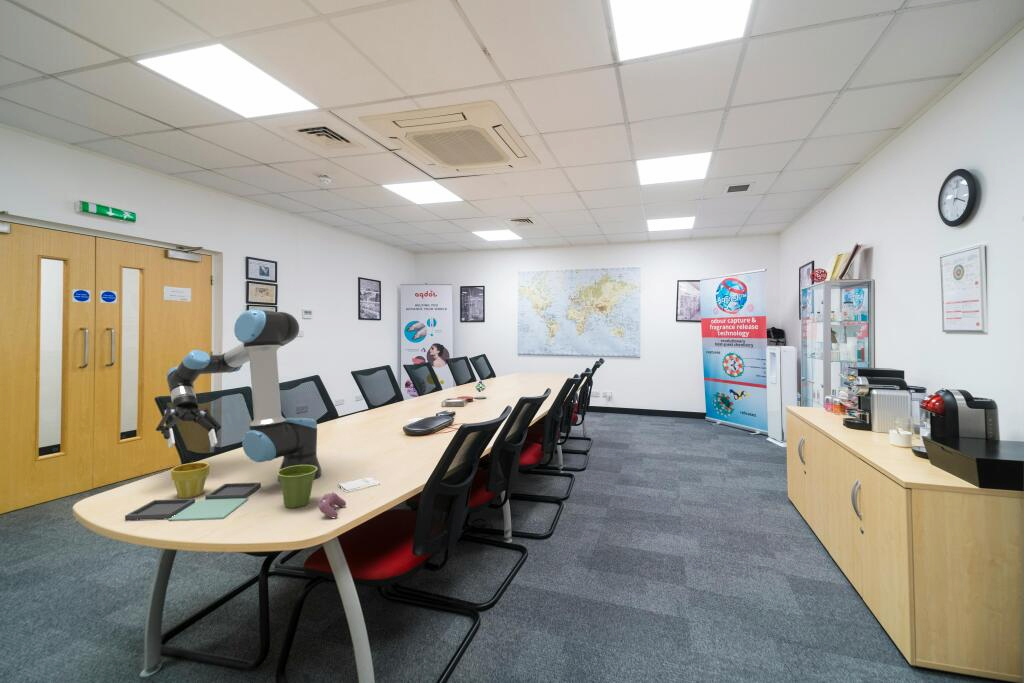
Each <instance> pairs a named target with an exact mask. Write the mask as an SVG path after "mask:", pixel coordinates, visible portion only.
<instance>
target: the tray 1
mask: <svg viewBox="0 0 1024 683" xmlns="http://www.w3.org/2000/svg"><path fill="white" fill-rule="evenodd" d="M195 502H196V498H178V499H177V498H175V499H174V498H172V499H170V498H169V499H153V500H151V501H150V502H148V503H146V504H144V505H143V506H140V507H139V508H137V509H135V510H133V511H131V512H129V513H127V514H125V515H124V521H125V520H131V521H141V520H140V519H157V520H165V519H164V518H171V517H172V516H174V515H176V514H178V513H179V512H181V511H182V510H184V509H186V508H187V507H189V506H190V505H192V504H194V503H195ZM137 519H138V520H137Z"/></svg>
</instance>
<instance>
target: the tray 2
mask: <svg viewBox="0 0 1024 683" xmlns="http://www.w3.org/2000/svg"><path fill="white" fill-rule="evenodd" d="M260 486H262V483H261V482H237V483H233V482H232V483H224V484H222V485H221V486H219V487H217V488H216V489H214V490H213V491H211V492H210V493H208V494H207V495H205V497H204V498H205V499H204V500H210V499H239V498H248V497H249V496H251V493H252V494H253V493H254V492H256V491H257V490H259V489H260V488H261V487H260ZM259 487H260V488H259ZM255 490H256V491H255ZM247 496H248V497H247Z"/></svg>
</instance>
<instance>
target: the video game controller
mask: <svg viewBox="0 0 1024 683" xmlns="http://www.w3.org/2000/svg"><path fill="white" fill-rule="evenodd" d="M345 505H346V506H347V503H346V500H344V499H343V498H342V497H340V496H339V494H337V493H335V492H334V491H332V492H328V493H326V494H324V495H323V496H322V498H321V499H320V501H319V502H318V509H319V511H320V512H321V513H322V514H324V515H325V516H327V517H328V518H330V517H336V518H338V515H339V514H338V512H337V511H336V506H337V507H339V506H345ZM346 506H345V507H346ZM334 509H335V510H334Z"/></svg>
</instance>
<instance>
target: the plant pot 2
mask: <svg viewBox="0 0 1024 683" xmlns="http://www.w3.org/2000/svg"><path fill="white" fill-rule="evenodd" d="M317 469H318V468H317V467H316V466H313V465H295V466H290V467H286V468H283V469H280V468H279V470H277V472H276V474H277V476H278V475H279V478H280V481H279V482H280V485H281V491H282V499H283V504H284V507H286V508H288V509H295V508H298V507H301V506H302V507H304V505H305V506H306V504H307V505H308V504H309V503H310V500H311V494H312V488H313V484H314V480H315V479H314V477H315V472H316V471H317Z"/></svg>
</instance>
